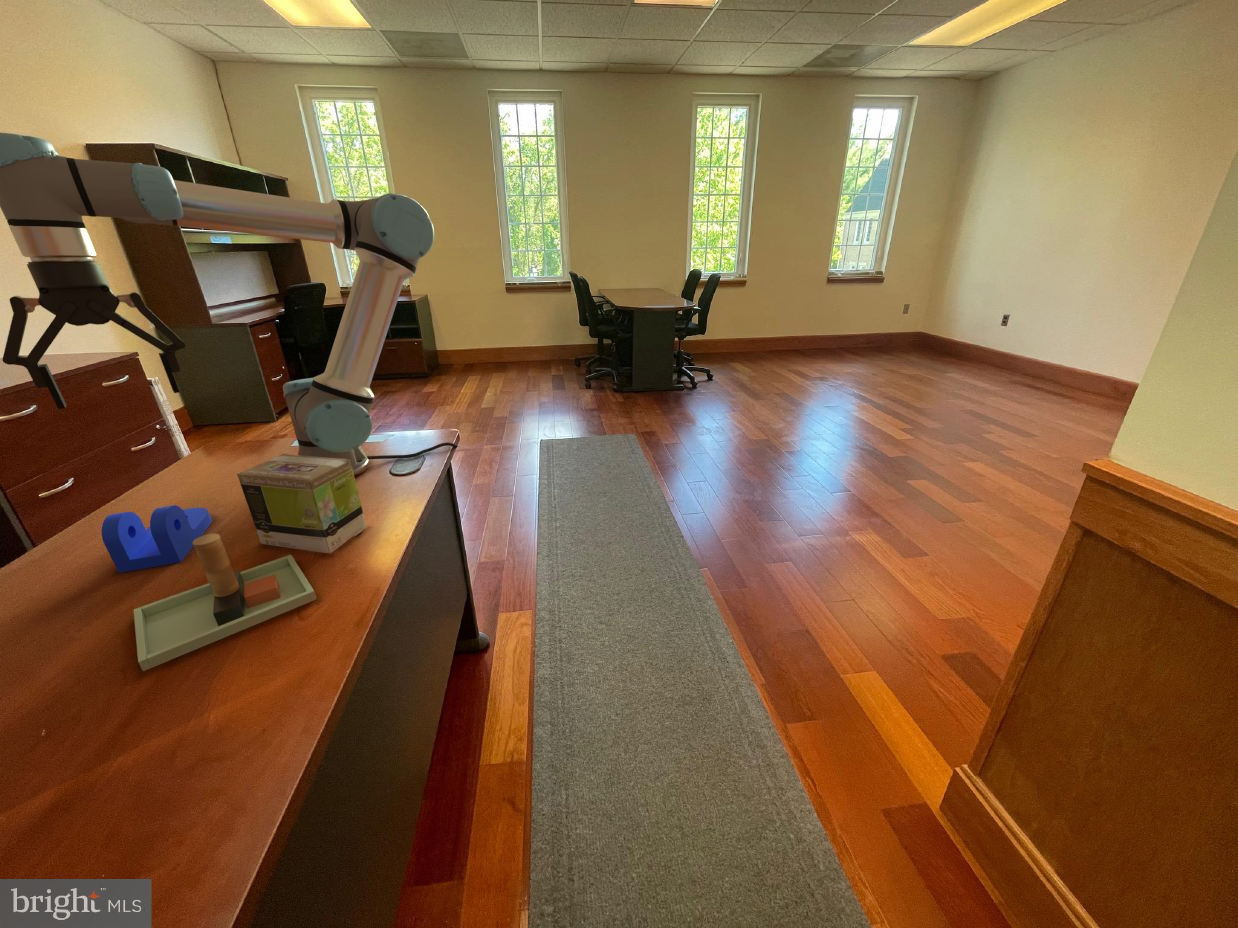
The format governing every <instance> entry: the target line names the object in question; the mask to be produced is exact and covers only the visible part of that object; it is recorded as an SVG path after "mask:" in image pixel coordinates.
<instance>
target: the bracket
mask: <svg viewBox="0 0 1238 928" xmlns="http://www.w3.org/2000/svg"><path fill="white" fill-rule="evenodd" d="M212 521H213V520H212V517H211V514H210V512H209V510H208V509H207V508H205V507H190V508H184V509H182V507H180V506H179V505H176V504H175V505H166V506H160V507H156V508H155V509H154V510H153V511H152V512H151V515H150V519H149V526H148V527H147V528H146V527H145V525H144V522H143V521H142V519H141V518H140V516H139V515H138V514H137V513H136V512H134V511H124V512H123V511H122V512H116V513H110V514H109V515H108V514H107V516H106V517H105V518H104V520H103V522H102V524H101V538H102V542H103V545H104V546H105V548H106V550H107V552H108V554H109V556H110V559H111V560H112V562H113V564H114V566H115V568H116V570H117V572H118V573H119V574H120V573H126V572H127V573H128V572H132V571H138V570H144V569H150V568H157V567H162V566H168V565H172V564H173V565H174V564H180V563H182V561H183V560H184V559H185V558H186V556H187V555H188V554H189V553H190V551H191V550H192V549H193V548H194V546H193V544H192V543H193V541H194V540H195V539H197V538H199V537H201V536H203V535H204V533H205V532H206V530H207V529H208V528H209V527H210V526H211V524H212Z"/></svg>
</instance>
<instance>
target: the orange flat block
mask: <svg viewBox="0 0 1238 928" xmlns="http://www.w3.org/2000/svg"><path fill="white" fill-rule="evenodd" d="M244 598H245V601H246V603H247V606H248V608H250V607H253V606H256V605H259V604H262V603H265V602H269V601H272V600H275V599H278V598H280V591H279V584H278V581H277V578H276V575H271V576H268V577H265V578H261V579H258V580H255V581H252V582H248V583H245V584H244Z"/></svg>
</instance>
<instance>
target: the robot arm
mask: <svg viewBox="0 0 1238 928" xmlns="http://www.w3.org/2000/svg"><path fill="white" fill-rule="evenodd" d="M0 209H1V211H2V214H3V216H4V217H5V220H6V222H7V225H8V228H9V230H10V232H11V234H12V236H13V238H14V240H15V243H16V245H17V247H18V249H19V251H20V253H21V256H22V257H25V258H29V260H30V261H27V264H26V266H27V269H28V271H29V272H30V275H31V277H32V280H33V282H34V285H35V287H36V289H37V291H38V295H39V296H38V297H23V296H21V295H13V296H11V297H10V298H9V304H10V307H11V310H12V313H13V314H12V316H11V317H12V318H11V322H10V326H9V330H8V333H7V334H8V335H7V338H6V342H5V347H4V351H3V354H2V362H3V363H4V364H5V365H10V366H11V365H13V366H21V367H23V368H25V369H26V370H27V372H28V374H29V376H30V378H31V380H32V382H33V384H34V386H35V387H37V388H38V389H43V388H47V389H48V391H49V394H50V395H51V397H52V399H53V401H54V403H55V406H56V408H57V409H58V410H64V409H66V408H67V403H66V401H65V399H64V397H63V395H62V392H61V391H60V389H59V387H58V384H57V383H56V380H55V378H54V376H53V374H52V372H51V369H50V367H49V366H48V364H47V363H41V364H40V363H39V362H40V361H41V359H42V358H43V356H44V355H45V353H46V352H47V350H48V349H49V347H50V346H51V345H52V343H53V342H54V340H55V339H56V338H57V336H58V335H59V334H60V332H61V331H62V329H63V328H64V326H65V325H66V324H69V325H72V326H76V327H82V326H83V327H84V326H87V325H97V326H98V325H99V326H100V325H105V324H108V323H109V322H113V323H114V324H116V325H118V326H119V327H121V328H123V329H125V330H127V331H128V332H130V333H132V334H133V335H135V336H136V337H138V338H140V339H141V340H143V341H145V342H146V343H148V344H150V345H152V346H153V347H155V348H157V349H158V350H160V351H162V352H159V353H158V355H159V358H160V361H161V363H162V366H163V369H164V372H165V374H166V376H167V379H168V381H169V385H170V387H171V389H172V392H173V393H174V394H179V393H180V389H179V386H178V383H177V381H176V379H175V376H174V373H179V372H180V371H181V368H180V364H179V362H178V359H177V356H176V353H177V351H179V350H181V349H182V350H183V349H186V346H187V345H186V343H185V342H184V341H183V339H181V338H180V337H179V336H178V335H177V334H176V333H175V332H173V330H172V329H170V328H169V327H168V326H167V325H166V324H165V323H164V322H163V321H162V320H161V319H160V318H159V317H158V316H157V315H156V314H155V313H153V311H152V310H151V309H149V308H148V307H147V306H146V304H145V301H144V299H143V298H142V296H141V295H140V294H139V293H138V292H135V291H132V292H130V293H123V294H115V293H114V292H113V291H112V289H111V287H110V284H109V282H108V279H107V276H106V274H105V271H104V269H103V267H102V264H101V263H99V262H98V261H95V259H93V258H97V256H98V254H97V252H96V250H95V246H94V245H93V241H92V239H91V236H90V234H89V231H88V229H87V227H86V224H85V222H84V220H83V217H90V218H91V217H92V218H94V217H95V218H96V217H99V218H117V219H121V220H123V221H125V222H127V223H134V224H141V225H147V224H154V225H162V226H163V225H164V226H172V227H183V228H184V227H185V228H192V229H193V228H194V229H201V230H212V231H220V232H230V233H239V234H247V235H256V236H258V235H259V236H266V237H273V238H275V237H276V238H285V239H293V240H301V241H302V240H303V241H311V242H319V243H320V242H321V243H328V244H329V243H330V244H332V245H334V246H335V247H336V248H337V249H340V250H349V251H354V252H355V254H356V256H357V257H358V260H359V263H358V265H357V269H356V272H355V274H354V279H353V282H352V284H351V287H350V291H349V294H348V297H347V299H346V300H347V301H346V304H345V306H344V310H343V313H342V317H341V319H340V323H339V325H338V328H337V333H336V336H335V338H334V342H333V345H332V348H331V351H330V354H329V357H328V361H327V364H326V367H325V370H324V372H323V373H321V374H318V375H316V376H314V377H310V378H301V379H296V380H291V381H287V382H285V383H284V384H283V385H282V391H283V398H284V399H285V402H286V406H287V409H288V412H289V416H290V420H291V424H292V426H293V427H292V428H293V430H294V435H295V437H296V440H297V444H298V452H297V455H302V456H313V457H325V458H338V459H349V460H350V462H351V466H352V469H353V473H354V478H355V477H358V476H359V475H361V474H362V473H364V472H366V471H367V470H368V469H369V467H370V462H369V460H391V459H392V460H393V459H411V458H416V457H419V456H420V455H423V454H426V453H429V452H432V451H435V450H437V449H439V448H442V447H452V448H459V446H458V445H457V444H456V443H453V442H441V443H439V444H436V445H433V446H432V447H428V448H425V449H423V450H422V449H421V450H420V451H417V452H415V453H414V452H413V453H409V454H388V455H387V454H384V455H383V454H382V455H367V454H366V453H365V451H364V449H363V447H362V445H364V444H365V443H366V441H368V440H369V438H370V436H371V434H372V430H373V421H372V417H371V414H370V412H371V409H372V406H373V403H374V400H375V395H374V392H373V391H372V389H371V383H372V380H373V378H374V374H375V371H376V369H377V365H378V362H379V358H380V357H381V356H380V355H381V353H382V349H383V346H384V344H385V340H386V337H387V335H388V331H389V329H390V325H391V322H392V319H393V316H394V312H395V309H396V307H397V303H398V301H399V298H400V294H401V291H402V288H403V285H404V282H405V281H406V280H408V279H411V278H413V277H415V274H416V271H417V268H418V265H419V263H420V259H421V258H423V257H425V256H426V255H427V254H428V253H429V252H430V250H431V249H432V247H433V244H434V241H435V229H434V223H433V221H432V219H431V217H430V215H429V213H428V212H427V210H426V209H425V208H424V207H423V206H422V204H420V203H419V202H418V201H417V200H415V199H414V198H412V197H411V196H407V195H404V194H399V193H392V192H391V193H385V194H382V195H380V196H378V197H374V198H369V199H363V200H342V199H335V198H332V199H331V200H330V201H329V202H320V201H314V200H307V199H300V198H294V197H288V196H281V195H274V194H269V193H268V194H267V193H261V192H254V191H248V190H241V189H234V188H228V187H222V186H216V185H210V184H209V185H208V184H202V183H195V182H190V181H183V180H177V179H174V178H173V176H172V174H171V172H170V171H169V170H168V169H166V168H165V167H162V166H157V165H151V164H150V165H149V164H143V163H142V162H135V163H133V162H132V163H131V162H119V161H109V160H107V161H106V160H96V159H95V160H94V159H81V158H74V157H67V156H64V155H63V156H62V155H59V153H58V151H56V149H55V148H54V145H53V144H52V143H51V142H50V141H48V140H46V139H44V138H40V137H36V136H31V135H22V134H17V133H9V132H0ZM120 303H124V304H126V305H127V306H128V307H129V308H133V309H135V308H136V309H137V310H138V312H139V313H140V314H141V315H142V316H143V317H144V318H146V320H148V321H149V322H150V323H151V324H152V325H153V326H154V327H155V328H156V329H157V330H158V331H159V332H161V334H162V335H164V336H165V337H166V338H167V339H168V340H169V341H170V343H166V342H165V341H162V340H161V339H160V338H158V337H156V336H155V335H153V334H152V333H150V332H148V331H147V330H145V329H143V328H142V327H140V326H139V325H136V324H135V323H133V322H132V321H130V320H129V319H127V318H126V317H124V316H123V315H121V314H119V313H118V312H116V311H117V309H118V307H119V305H120ZM39 306H40V307H41V308H43V309H44V310H46V311H47V312H49V313H51V314H52V315H54V318H53V319H52V321H51V322H50V324H49V325H47V327H46V329H45V330H44V331H43V334H42V335H41V337H39V339H38V341H37V342H36V343H35V345H34V346H33V348H32V349H31V351H30V352H29V353H28V355H27V356H25V355H20V351H21V348H22V343H23V339H24V335H25V331H26V328H27V327H26V326H27V322H28V318H29V313H30V314H31V313H33V312H35V311H36V307H39Z"/></svg>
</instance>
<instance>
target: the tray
mask: <svg viewBox="0 0 1238 928" xmlns="http://www.w3.org/2000/svg"><path fill="white" fill-rule="evenodd" d="M240 573H241V576H242V579H243V581H244V584H245V583H248V582H252V581H255V580H258V579H261V578H265V577H268V576H271V575H276V578H277V581H278V584H279V591H280V598H278V599H275V600H272V601H269V602H265V603H262V604H259V605H256V606H253V607H250V608H248V606H247V603H246V601H245V616H244V617H241V618H239V619H236V620H234V621H231V622H229V623H226V624H224V625H221V626H219V627H218V624H217V622H216V620H215V617H214V615H213V606H214V593H213V591H212V589H211V586H210V584H209V582H208V583H205V584H202V585H199V586H197V587H194V588H190V589H188V590H185V591H182V592H179V593H177V594H173V595H170V596H168V597H165V598H162V599H159V600H156V601H154V602H150V603H147V604H145V605H142V606H139V607H137V608H134V609H133V621H134V631H135V632H134V633H135V643H136V654H137V663H138V665H139V667H140V668H141V671H142V672H145V671H147V670H150V669H152V668H154V667H157V666H159V665H161V664H164V663H166V662H169V661H172V660H174V659H176V658H178V657H181V656H183V655H185V654H188V653H190V652H193V651H195V650H198V649H200V648H203V647H206V646H208V645H210V644H212V643H215V642H217V641H219V640H221V639H225V638H227V637H229V636H231V635H234V634H236V633H239V632H242V631H243V630H246V629H248V628H251V627H253V626H255V625H258V624H261V623H263V622H266V621H268V620H271V619H272V618H275V617H277V616H280V615H282V614H284V613H287V612H290V611H292V610H295V609H296V608H299V607H302V606H304V605H306V604H308V603H310V602H313V601H315V600H317V595H316V591H315V590H314V589H313V587H312V585H311V584H310V582H309V580H308V579H307V577H306V575H305V574H304V572H303V571H302V569H301V568H300V566H299V565H298V563H297V562H296V560H295V558H294V557H293V555H292V554H288V555H285V556H283V557H279V558H276V559H274V560H271V561H268V562H265V563H262V564H260V565H256V566H254V567H251V568H248V569H246V570H245V569H244V570H242V571H240Z"/></svg>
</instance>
